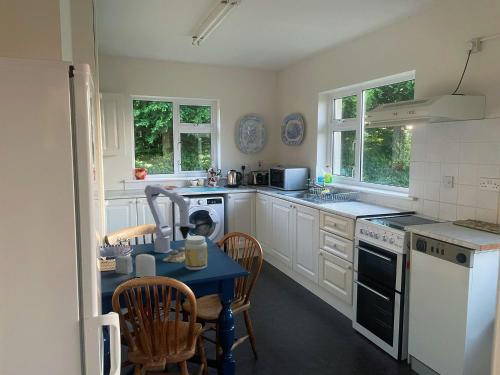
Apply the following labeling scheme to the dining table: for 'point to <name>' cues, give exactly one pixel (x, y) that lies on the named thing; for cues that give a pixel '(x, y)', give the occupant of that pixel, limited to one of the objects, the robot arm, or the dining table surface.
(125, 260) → the medicine box
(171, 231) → the robot arm
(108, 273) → the dining table surface
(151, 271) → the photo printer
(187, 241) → the supplement tub
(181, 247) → the grey ball
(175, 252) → the plug
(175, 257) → the board
